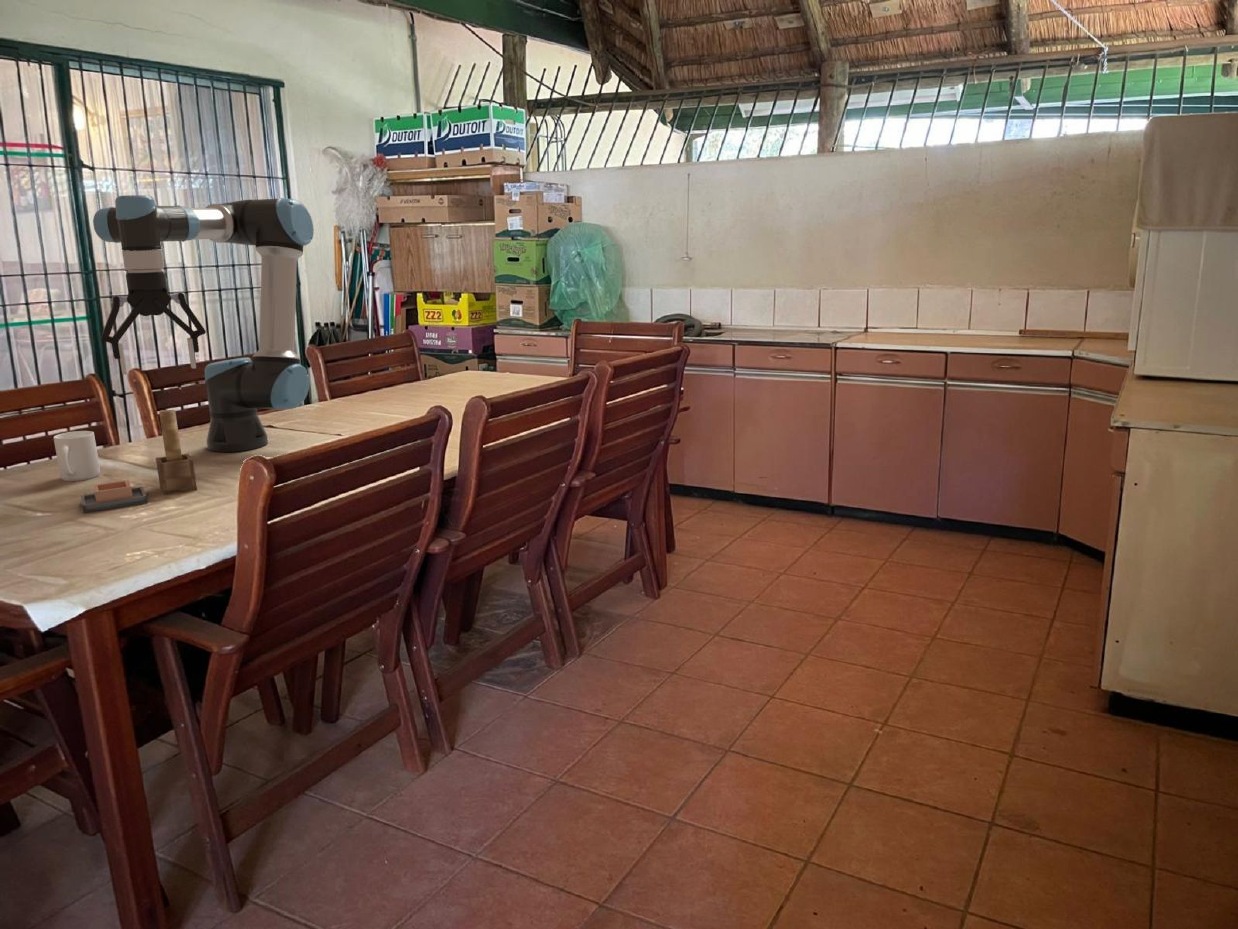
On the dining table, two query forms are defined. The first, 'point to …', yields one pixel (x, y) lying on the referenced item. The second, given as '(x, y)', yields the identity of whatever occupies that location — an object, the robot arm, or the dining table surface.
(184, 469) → the pen cup
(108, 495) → the holder
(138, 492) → the tray
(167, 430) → the dowel
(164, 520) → the dining table surface
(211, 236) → the robot arm
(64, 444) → the mug
